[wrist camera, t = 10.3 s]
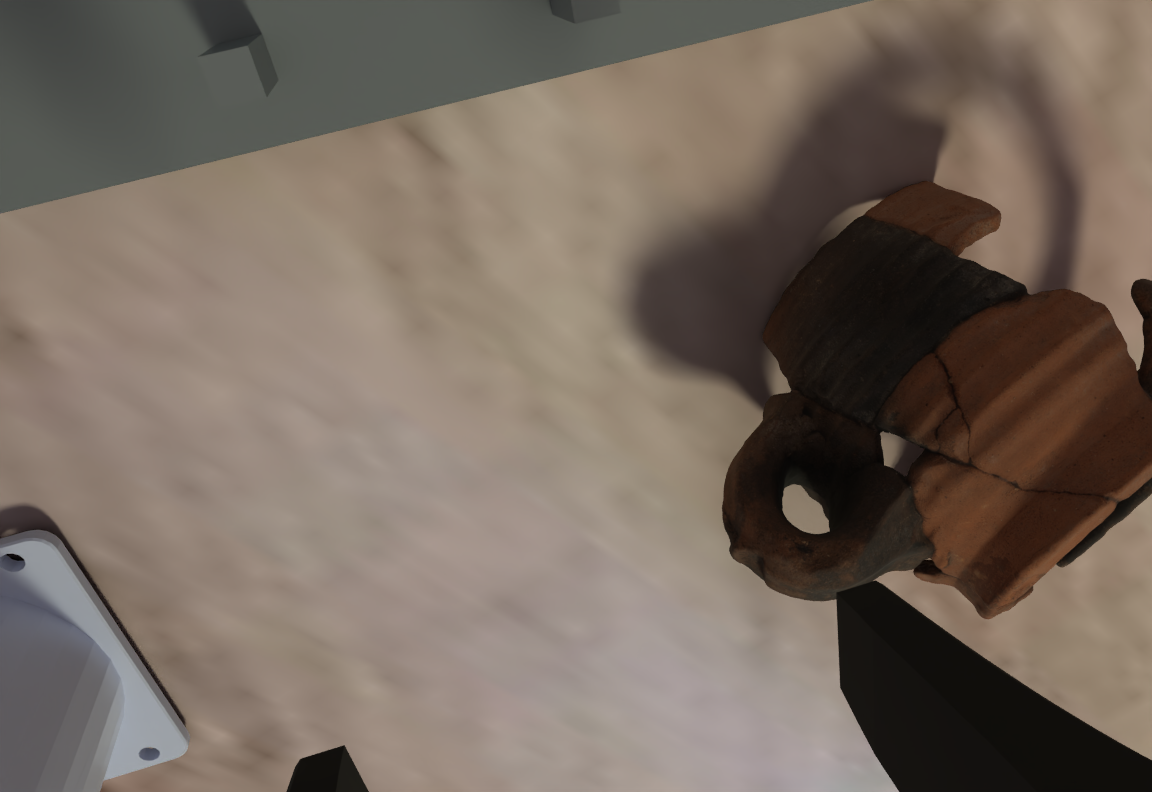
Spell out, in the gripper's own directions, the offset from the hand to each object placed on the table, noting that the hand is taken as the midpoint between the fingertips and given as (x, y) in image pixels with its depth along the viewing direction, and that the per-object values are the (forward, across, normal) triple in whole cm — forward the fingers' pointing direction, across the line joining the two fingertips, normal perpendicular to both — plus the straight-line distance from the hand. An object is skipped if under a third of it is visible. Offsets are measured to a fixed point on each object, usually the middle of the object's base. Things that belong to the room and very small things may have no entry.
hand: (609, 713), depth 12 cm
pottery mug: (+10, -10, +2) cm, 14 cm away
